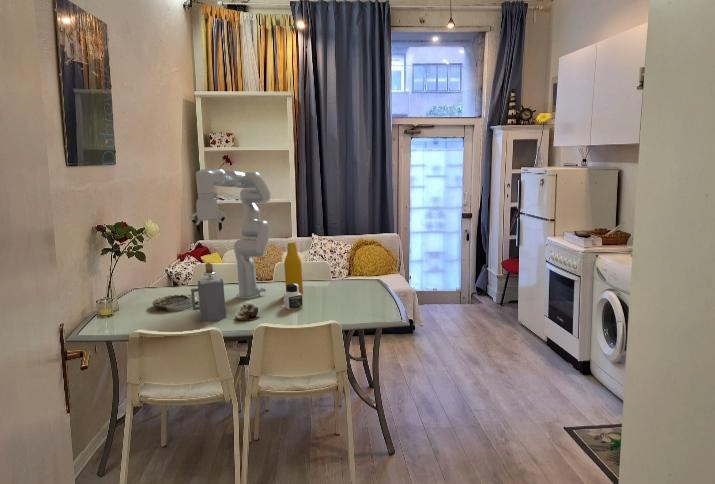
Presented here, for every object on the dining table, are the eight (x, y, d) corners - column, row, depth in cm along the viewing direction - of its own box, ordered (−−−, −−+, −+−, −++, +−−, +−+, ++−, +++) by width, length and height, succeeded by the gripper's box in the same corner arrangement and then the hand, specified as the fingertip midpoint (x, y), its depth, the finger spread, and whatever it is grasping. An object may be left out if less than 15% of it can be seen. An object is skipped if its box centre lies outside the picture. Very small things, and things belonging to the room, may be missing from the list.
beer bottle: (298, 297, 293) (295, 244, 288) (283, 296, 296) (279, 243, 291) (306, 293, 302) (303, 241, 297) (290, 292, 305) (287, 240, 300)
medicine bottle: (289, 310, 270) (288, 286, 268) (284, 307, 276) (283, 283, 274) (303, 308, 273) (301, 284, 271) (297, 304, 280) (296, 281, 278)
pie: (166, 318, 267) (164, 308, 266) (135, 310, 284) (134, 301, 283) (212, 304, 289) (212, 295, 288) (181, 297, 305) (181, 289, 305)
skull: (239, 321, 252) (233, 302, 257) (236, 331, 260) (231, 312, 265) (264, 316, 258) (258, 297, 262) (261, 326, 266) (255, 307, 270)
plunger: (221, 307, 268) (217, 260, 264) (222, 312, 260) (218, 264, 256) (203, 309, 265) (199, 262, 261) (203, 314, 257) (199, 265, 253)
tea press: (225, 313, 270) (221, 275, 267) (226, 319, 259) (223, 280, 256) (193, 316, 266) (190, 278, 263) (193, 323, 255) (190, 283, 252)
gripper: (224, 194, 269) (227, 229, 272) (187, 197, 263) (191, 232, 267) (225, 195, 262) (228, 231, 265) (187, 198, 256) (191, 234, 260)
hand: (209, 231), depth 266 cm, fingers open, 9 cm apart
